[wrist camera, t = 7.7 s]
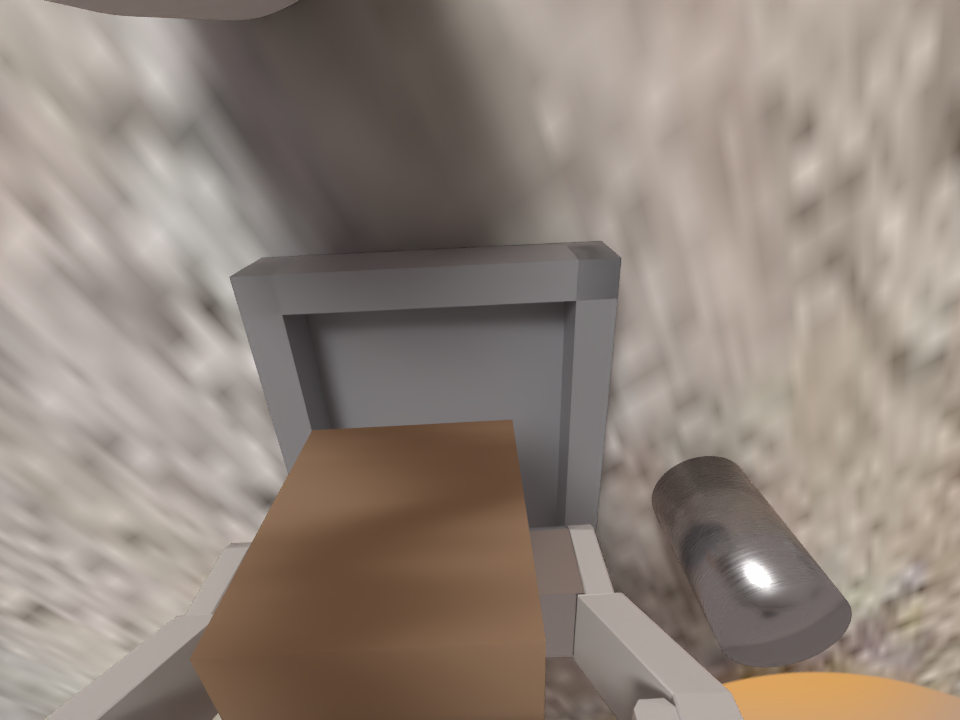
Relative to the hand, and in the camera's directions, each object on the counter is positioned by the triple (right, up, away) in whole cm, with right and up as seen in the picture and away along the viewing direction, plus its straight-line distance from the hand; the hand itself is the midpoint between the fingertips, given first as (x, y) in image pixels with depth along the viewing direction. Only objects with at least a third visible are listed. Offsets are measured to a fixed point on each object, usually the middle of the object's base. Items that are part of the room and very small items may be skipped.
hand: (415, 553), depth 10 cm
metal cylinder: (+11, -2, +10) cm, 15 cm away
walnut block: (0, +1, +1) cm, 2 cm away
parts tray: (0, +1, +8) cm, 9 cm away
